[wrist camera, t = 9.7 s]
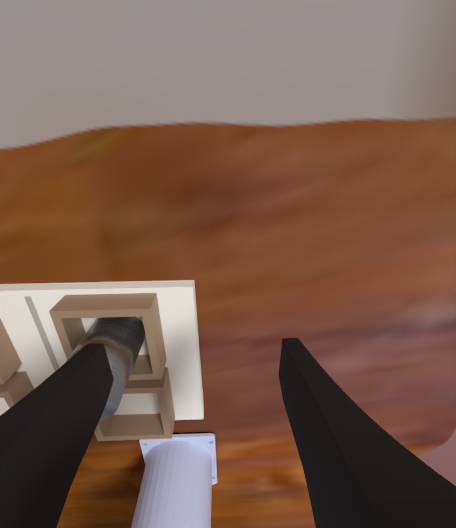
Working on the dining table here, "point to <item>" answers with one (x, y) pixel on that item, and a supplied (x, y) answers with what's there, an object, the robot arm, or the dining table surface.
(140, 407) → the white board with compartments
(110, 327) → the steel pin
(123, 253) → the dining table surface
